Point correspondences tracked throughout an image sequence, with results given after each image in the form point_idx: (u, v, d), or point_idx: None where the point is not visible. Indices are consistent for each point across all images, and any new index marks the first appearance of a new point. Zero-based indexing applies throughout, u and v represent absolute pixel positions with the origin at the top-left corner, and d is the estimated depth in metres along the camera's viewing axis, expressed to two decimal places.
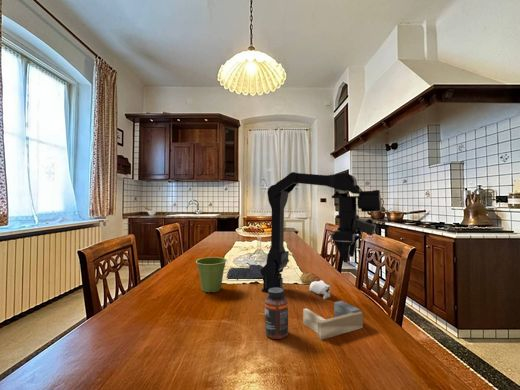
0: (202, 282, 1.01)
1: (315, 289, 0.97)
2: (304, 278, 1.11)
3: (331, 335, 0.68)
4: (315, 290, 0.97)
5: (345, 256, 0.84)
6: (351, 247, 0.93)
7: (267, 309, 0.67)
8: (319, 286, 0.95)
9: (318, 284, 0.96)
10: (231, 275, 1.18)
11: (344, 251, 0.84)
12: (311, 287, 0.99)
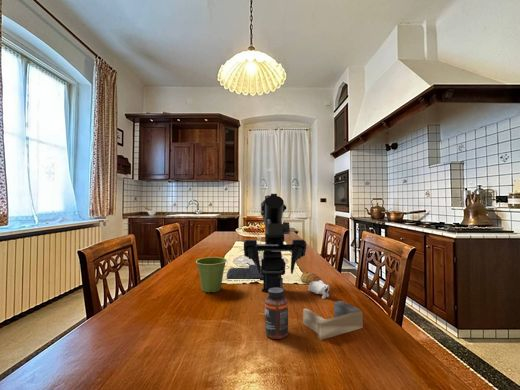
0: (202, 282, 1.01)
1: (314, 289, 0.97)
2: (304, 278, 1.11)
3: (331, 335, 0.68)
4: (314, 290, 0.97)
5: (257, 267, 0.78)
6: None
7: (267, 309, 0.67)
8: (318, 286, 0.96)
9: (317, 284, 0.97)
10: (231, 275, 1.18)
11: (255, 262, 0.79)
12: (310, 287, 1.00)
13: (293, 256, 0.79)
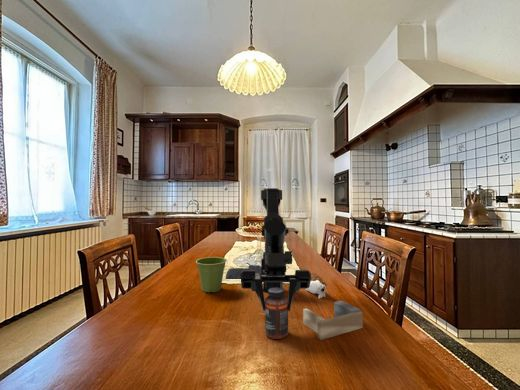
0: (202, 282, 1.01)
1: (311, 289, 0.98)
2: None
3: (331, 335, 0.68)
4: (311, 290, 0.98)
5: (261, 302, 0.69)
6: (289, 298, 0.70)
7: (267, 309, 0.67)
8: (314, 286, 0.96)
9: (313, 284, 0.97)
10: (230, 275, 1.17)
11: (259, 296, 0.70)
12: None
13: (290, 290, 0.70)
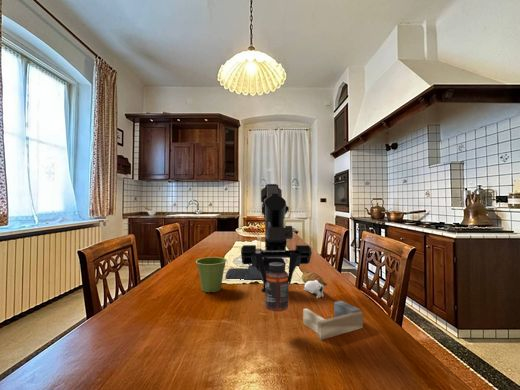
0: (202, 282, 1.01)
1: (309, 288, 0.98)
2: (305, 277, 1.12)
3: (331, 335, 0.68)
4: (309, 289, 0.98)
5: (261, 276, 0.69)
6: (289, 271, 0.70)
7: (268, 282, 0.68)
8: (313, 285, 0.96)
9: (312, 283, 0.97)
10: (229, 276, 1.17)
11: (260, 270, 0.71)
12: (305, 286, 1.00)
13: (291, 264, 0.70)
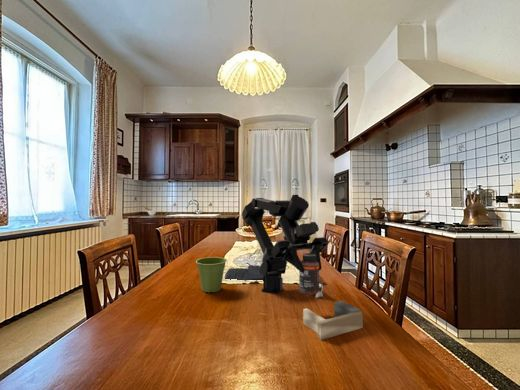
0: (202, 282, 1.01)
1: None
2: None
3: (331, 335, 0.68)
4: None
5: (298, 266, 0.80)
6: (316, 260, 0.84)
7: (307, 270, 0.79)
8: None
9: None
10: (229, 276, 1.17)
11: (295, 262, 0.81)
12: None
13: (317, 253, 0.84)
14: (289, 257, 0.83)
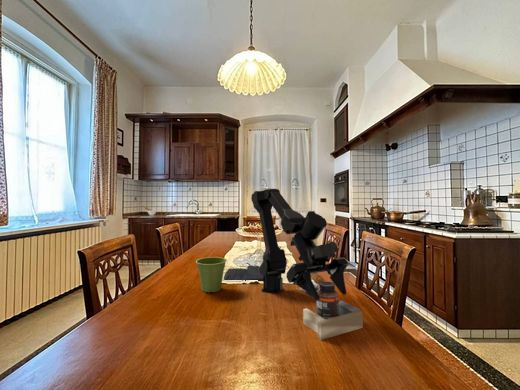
0: (202, 282, 1.01)
1: None
2: None
3: (331, 335, 0.68)
4: None
5: (313, 293, 0.72)
6: (339, 283, 0.77)
7: (325, 302, 0.71)
8: None
9: None
10: (228, 276, 1.17)
11: (308, 288, 0.72)
12: None
13: (341, 276, 0.77)
14: (302, 282, 0.75)
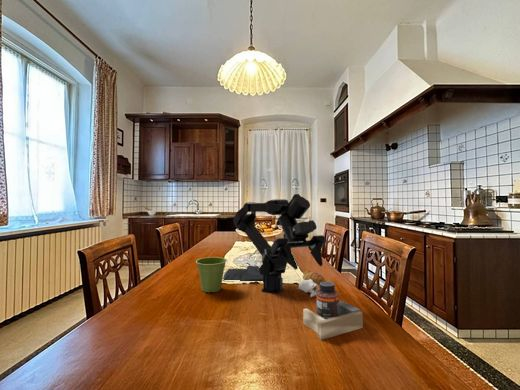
0: (202, 282, 1.01)
1: (303, 287, 0.99)
2: (307, 277, 1.12)
3: (331, 335, 0.68)
4: (303, 288, 0.99)
5: (292, 263, 0.83)
6: (317, 257, 0.88)
7: (325, 302, 0.71)
8: (307, 284, 0.97)
9: (306, 283, 0.98)
10: (227, 276, 1.16)
11: (289, 259, 0.84)
12: (300, 285, 1.01)
13: (319, 250, 0.88)
14: (283, 254, 0.86)
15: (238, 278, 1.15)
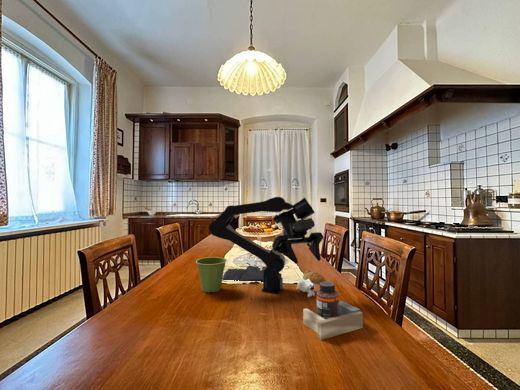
0: (202, 282, 1.01)
1: (301, 287, 0.99)
2: (308, 277, 1.12)
3: (331, 335, 0.68)
4: (301, 288, 0.99)
5: (292, 258, 0.89)
6: (316, 252, 0.94)
7: (325, 302, 0.71)
8: (304, 284, 0.97)
9: (304, 282, 0.98)
10: (227, 276, 1.16)
11: (289, 254, 0.90)
12: (298, 285, 1.02)
13: (317, 246, 0.94)
14: (284, 250, 0.92)
15: (237, 278, 1.15)
